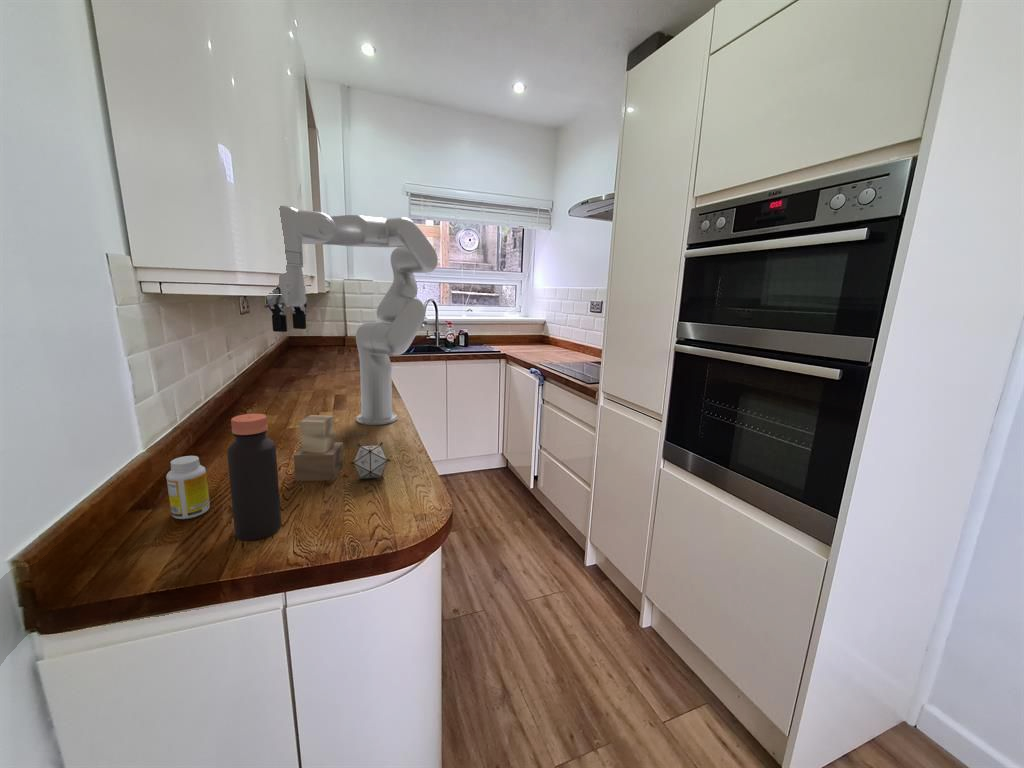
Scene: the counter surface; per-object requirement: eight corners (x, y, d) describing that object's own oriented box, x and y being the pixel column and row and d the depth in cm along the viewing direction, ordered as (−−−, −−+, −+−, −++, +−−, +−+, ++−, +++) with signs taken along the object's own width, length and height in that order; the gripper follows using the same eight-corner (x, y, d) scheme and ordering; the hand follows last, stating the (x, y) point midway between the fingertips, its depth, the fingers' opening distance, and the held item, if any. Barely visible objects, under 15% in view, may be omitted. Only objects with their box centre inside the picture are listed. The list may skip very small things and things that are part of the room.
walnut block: (308, 466, 98) (306, 442, 96) (343, 466, 99) (342, 442, 98) (295, 481, 90) (293, 455, 89) (334, 480, 91) (332, 455, 90)
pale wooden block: (312, 444, 96) (311, 414, 94) (334, 445, 96) (333, 415, 94) (301, 452, 91) (300, 421, 89) (324, 453, 91) (323, 422, 89)
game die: (375, 497, 92) (374, 474, 85) (342, 479, 93) (339, 456, 86) (398, 466, 98) (399, 443, 91) (366, 450, 99) (365, 425, 92)
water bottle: (286, 531, 71) (279, 418, 67) (240, 546, 66) (229, 426, 62) (274, 515, 76) (266, 409, 72) (230, 529, 71) (219, 416, 67)
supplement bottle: (215, 504, 79) (210, 453, 77) (201, 519, 73) (195, 464, 71) (181, 506, 77) (174, 454, 75) (164, 521, 72) (157, 466, 70)
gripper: (288, 262, 111) (292, 327, 114) (249, 255, 94) (255, 332, 97) (317, 263, 111) (320, 328, 114) (282, 257, 94) (287, 333, 97)
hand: (290, 330), depth 106 cm, fingers open, 9 cm apart
